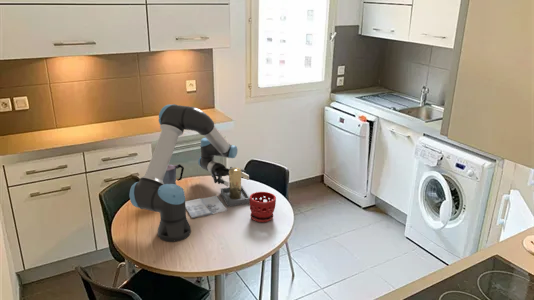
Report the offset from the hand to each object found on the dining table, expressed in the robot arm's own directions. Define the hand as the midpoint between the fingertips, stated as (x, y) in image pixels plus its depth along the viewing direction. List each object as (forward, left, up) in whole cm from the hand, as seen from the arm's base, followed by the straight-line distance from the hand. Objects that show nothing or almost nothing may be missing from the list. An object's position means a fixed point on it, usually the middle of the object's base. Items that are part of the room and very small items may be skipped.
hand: (238, 181), depth 227 cm
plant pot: (-22, -6, -12) cm, 26 cm away
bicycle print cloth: (-2, +19, -12) cm, 23 cm away
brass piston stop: (+3, +1, -10) cm, 11 cm away
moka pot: (+17, +34, -12) cm, 40 cm away
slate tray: (+3, +1, -11) cm, 12 cm away
